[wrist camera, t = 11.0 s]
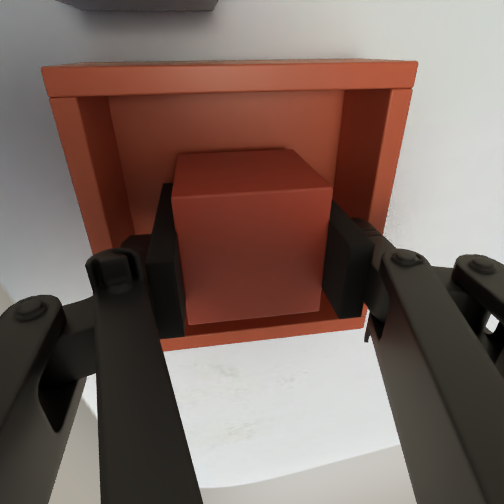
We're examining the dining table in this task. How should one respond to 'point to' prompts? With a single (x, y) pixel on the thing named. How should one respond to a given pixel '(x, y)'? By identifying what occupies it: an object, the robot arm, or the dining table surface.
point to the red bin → (228, 146)
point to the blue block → (142, 4)
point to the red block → (250, 233)
